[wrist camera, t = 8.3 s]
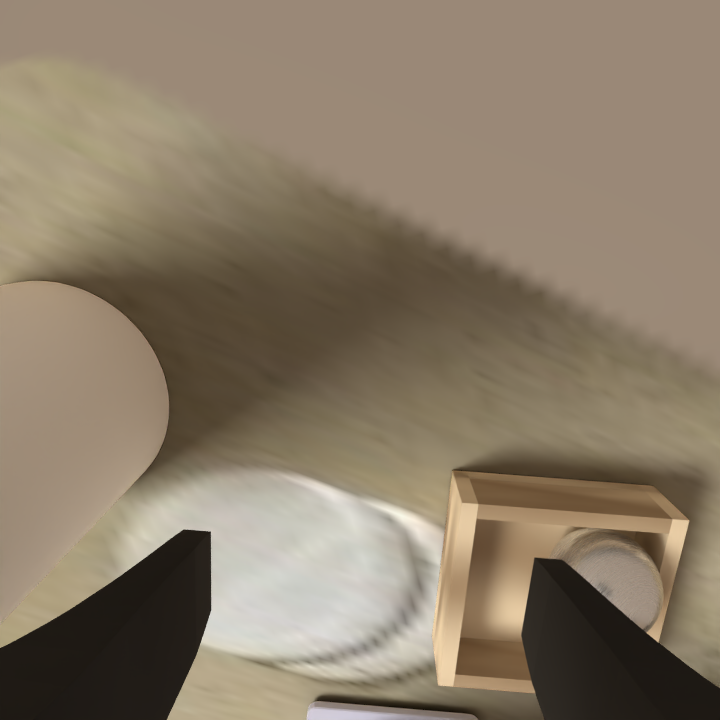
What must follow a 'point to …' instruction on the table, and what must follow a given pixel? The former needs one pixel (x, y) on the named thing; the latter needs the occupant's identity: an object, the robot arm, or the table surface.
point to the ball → (615, 571)
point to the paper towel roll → (68, 423)
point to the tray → (527, 562)
